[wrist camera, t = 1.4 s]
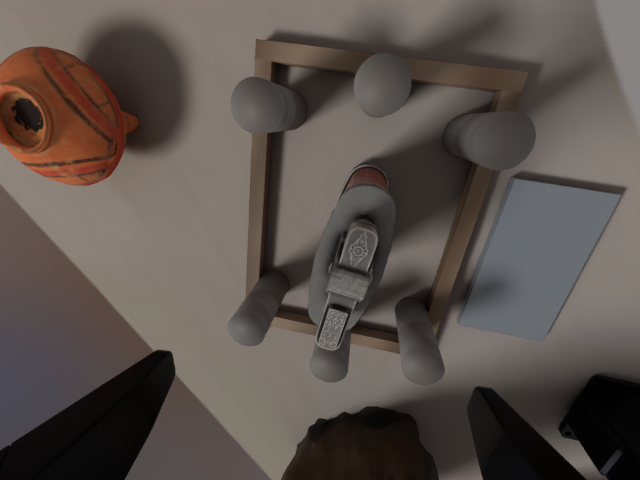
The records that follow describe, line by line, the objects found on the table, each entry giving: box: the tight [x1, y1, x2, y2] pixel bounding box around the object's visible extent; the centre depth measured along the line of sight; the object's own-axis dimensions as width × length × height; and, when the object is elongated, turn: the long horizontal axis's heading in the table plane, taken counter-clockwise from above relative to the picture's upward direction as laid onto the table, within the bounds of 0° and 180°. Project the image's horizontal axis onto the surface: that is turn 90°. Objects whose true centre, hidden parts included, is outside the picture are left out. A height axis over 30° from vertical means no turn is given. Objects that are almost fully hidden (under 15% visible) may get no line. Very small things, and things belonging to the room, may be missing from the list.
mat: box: [457, 177, 621, 341], centre depth 20 cm, size 6×11×1 cm, turn 173°
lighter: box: [308, 163, 396, 350], centre depth 17 cm, size 8×3×10 cm, turn 166°
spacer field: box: [228, 39, 536, 385], centre depth 18 cm, size 15×20×6 cm
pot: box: [0, 47, 139, 186], centre depth 19 cm, size 8×8×7 cm
